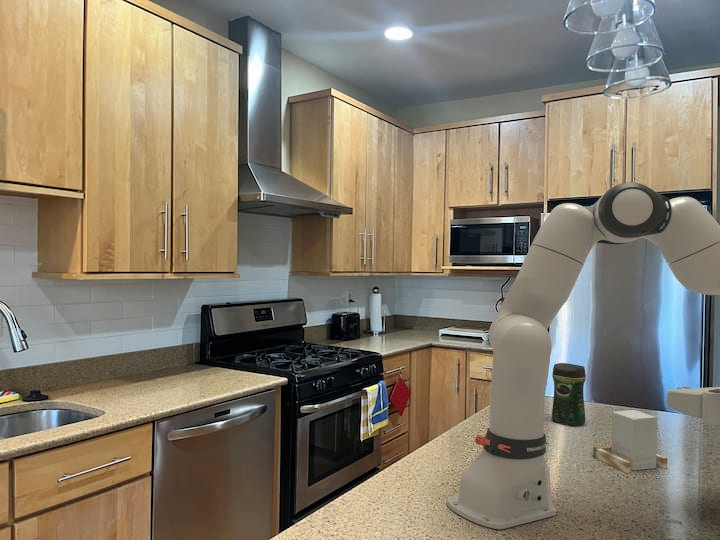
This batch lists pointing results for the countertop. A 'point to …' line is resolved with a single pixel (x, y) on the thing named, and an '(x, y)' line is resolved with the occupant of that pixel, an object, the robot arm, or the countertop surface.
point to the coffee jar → (568, 394)
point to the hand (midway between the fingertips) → (681, 390)
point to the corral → (606, 456)
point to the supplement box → (635, 438)
